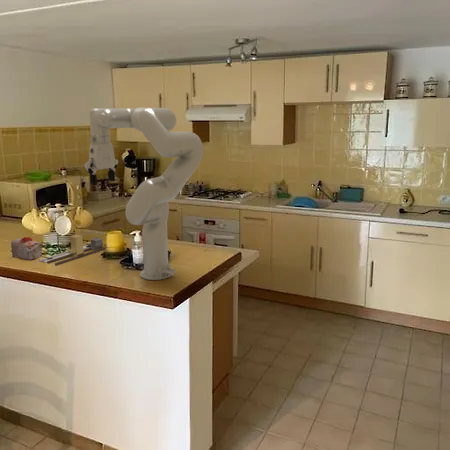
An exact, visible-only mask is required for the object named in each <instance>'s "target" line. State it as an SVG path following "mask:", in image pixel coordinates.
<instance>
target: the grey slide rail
mask: <svg viewBox="0 0 450 450" xmlns="http://www.w3.org/2000/svg"><path fill="white" fill-rule="evenodd" d="M105 249H106V250H107V248H106V247H105V246H104V245H103V238H99V237H95V238H92V239H90V243H88V242H85V244H84V245H83V250H84V254H82V255H79V256H76V257H72V253H71V252H68V251H64V252H60V253H57V254H54V255H50V256H48V257H45V258H42V259H39V262H41V263H45V264H48V265H49V264H51V263H54V266H56V267H57V266H60V265H63V264H66V263H69V262H72V261H75V260H77V259H81V258H84V257H87V256H90V255H94V254H96V253H99V252H102V251H105ZM61 260H62V261H61Z"/></svg>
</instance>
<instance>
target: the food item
mask: <svg viewBox="0 0 450 450" xmlns="http://www.w3.org/2000/svg"><path fill="white" fill-rule="evenodd" d="M10 246H11V253H12V254H11V255H12V258H20V259H23V260H29V261H32V260H36V259H40V258H41V257H43V254H42V253H43V252H42V251H43V247H42V246H43V245H42V242H41V241H36V240H33V238H32V237H30V236H28V237H26V236H24V237H22V238H16V239H13V240H11V241H10Z"/></svg>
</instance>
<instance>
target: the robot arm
mask: <svg viewBox="0 0 450 450" xmlns="http://www.w3.org/2000/svg"><path fill="white" fill-rule="evenodd" d="M176 125H177V117H176V114H175V113H174V111H172V110H171V109H169V108H166V107H143V106H142V107H141V106H140V107H137V108H127V107H126V108H122V107H121V108H119V107H118V108H116V107H114V108H112V107H111V108H100V107H99V108H97V107H96V108H94V107H93V108H91V109H90V110H89V127H90V137H89V141H90V145H89V152H88V154H89V155H88V161H86V162H85V163H84V164H83V166H84V169H85V171H86V173H87V174H88V175H89V183H90V184H91V185H98V184H97V183H98V182H97V181H98V178H97V174H96V173H97V171H98V170H101V171H102V170H107V169H108V171H107V178H108V179H107V180H108V181H109V182H115V181H116V180H115V174H116V173H115V172H116V171H117V170H116V169H117V168H118V164H119V159H116V158H115V150H114V146H113V143H111V129H124V128H125V129H126V128H127V129H129V128H131V129H135V130H137V131H138V132H141V133H142V135H143V136H144V137H145V138H146V139H147V141H148V142H149V143H150V145H151V146H152V147H153V148H154V150H155V151H156V153H158V154H159V155H160V156H161V157H164V158H169V159H170V158H175V159H174V160H173V161H171V162H170V164H169V165H168V166H167V168H166V170H165V171H164V172H163V173H162V174H161V175H160V176H157V177H151V178H148V179H145V180H144V181H142V182H141V183H140V184H139V185H138V187H137V188H136V190H135V191H134V192H133V194H132V195H131V197H130V199H129V201H128V203H127V204H126V207H125V211H124V212H125V218H126V220H127V222H129V224H131V225H135V226H141V225H142V231H141V232H142V233H141V234H142V236H141V237H142V244H143V250H142V257H143V270H140V272H139V276H140V278H141V279H144V280H148V281H159V280H166V279H169V278H170V277H173V276H174V274H175V273H176V269H175V268H171V264H170V263H169V250H168V249H169V248H168V247H169V246H168V220H169V213H170V212H169V211H170V207H169V202H172V201H173V200H175V198H177V196H179V193H180V192H181V190H182V189H183V188H184V187H185V185H186V184H187V182H188V180H189V179H190V178H191V176H192V175H193V174H194V173H195V171H196V170H197V169H198V167H199V166H200V163H201V161H202V159H203V158H202V157H203V153H204V152H203V151H204V149H203V148H204V147H203V142H202V140H201V138H200V137H199V136H198V134H196V133H194V132H192V131H187V130H183V131H171V130H173V129H174V128H175V127H176Z"/></svg>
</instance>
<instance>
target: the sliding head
mask: <svg viewBox="0 0 450 450" xmlns="http://www.w3.org/2000/svg"><path fill="white" fill-rule="evenodd" d="M69 239H70V248H66V249H65V252H67V251H68V252H71V253H72V256H71V258H73V257H76V256H79V255H82V254H85V252H84V250H83V246H84V241H83V235H80V234H73V235H70V236H69Z"/></svg>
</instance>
